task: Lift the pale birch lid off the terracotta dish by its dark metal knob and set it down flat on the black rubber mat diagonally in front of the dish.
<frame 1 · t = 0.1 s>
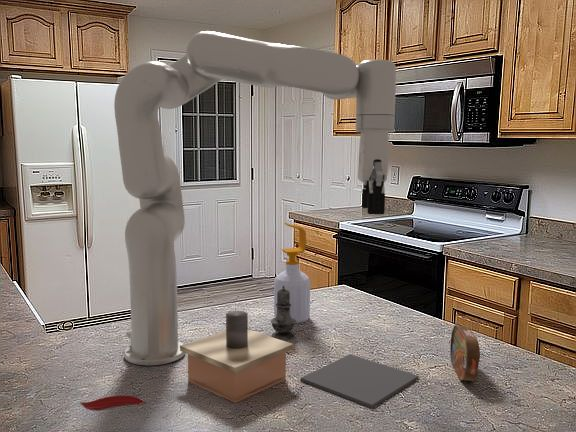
hand: (372, 210, 113), 31 cm above the worktop, tool pointing down, fingers open, 9 cm apart
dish: (237, 380, 106), on the worktop
mat: (359, 379, 106), on the worktop
cayenne pepper: (112, 407, 96), on the worktop
tin: (463, 373, 110), on the worktop
lid: (237, 349, 105), point 6 cm above the worktop, touching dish
salt shaker: (283, 336, 130), on the worktop
soap bottle: (291, 318, 143), on the worktop
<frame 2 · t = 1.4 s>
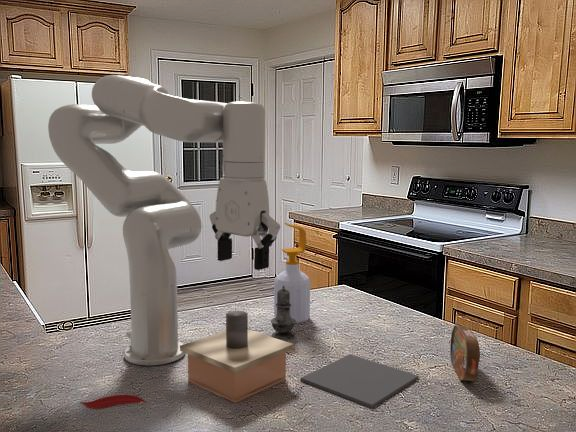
hand: (242, 264, 103), 22 cm above the worktop, tool pointing down, fingers open, 9 cm apart
nothing on the worktop moved.
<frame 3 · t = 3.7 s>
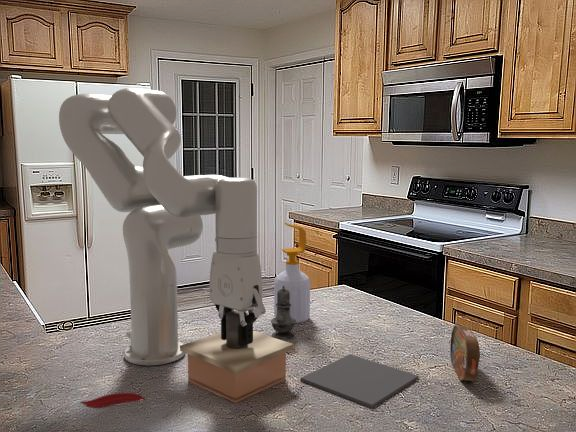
hand: (236, 340, 105), 8 cm above the worktop, tool pointing down, fingers closed on lid, 4 cm apart
lid: (237, 349, 105), point 6 cm above the worktop, touching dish, gripper
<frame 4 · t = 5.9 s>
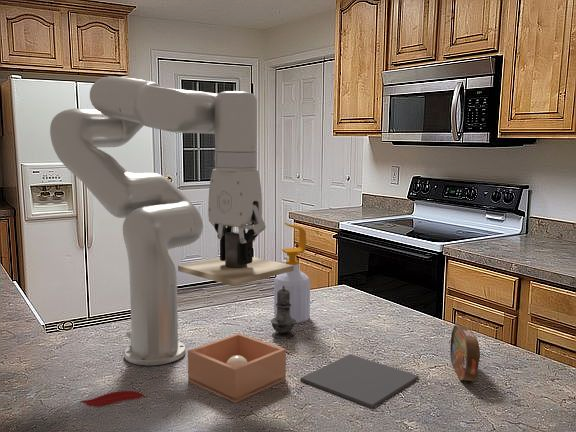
hand: (236, 260, 103), 23 cm above the worktop, tool pointing down, fingers closed on lid, 4 cm apart
lid: (236, 270, 103), point 21 cm above the worktop, touching gripper
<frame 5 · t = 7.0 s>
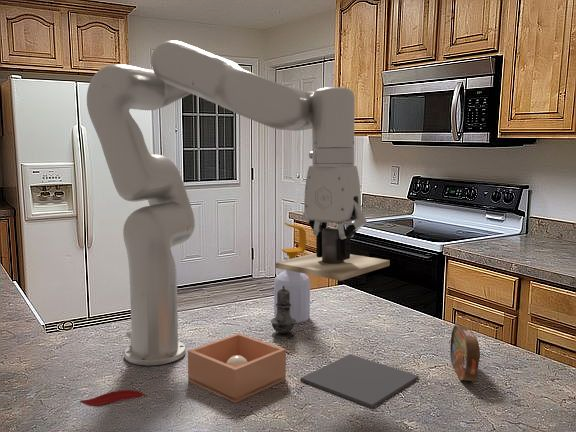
hand: (333, 256, 103), 24 cm above the worktop, tool pointing down, fingers closed on lid, 4 cm apart
lid: (332, 266, 103), point 22 cm above the worktop, touching gripper
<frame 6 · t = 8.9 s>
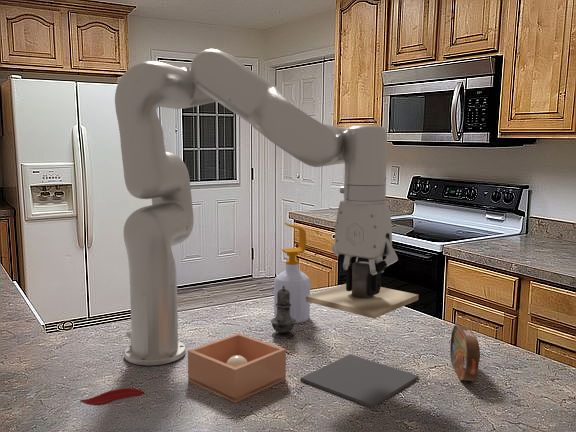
hand: (362, 291, 104), 17 cm above the worktop, tool pointing down, fingers closed on lid, 4 cm apart
lid: (362, 300, 104), point 16 cm above the worktop, touching gripper
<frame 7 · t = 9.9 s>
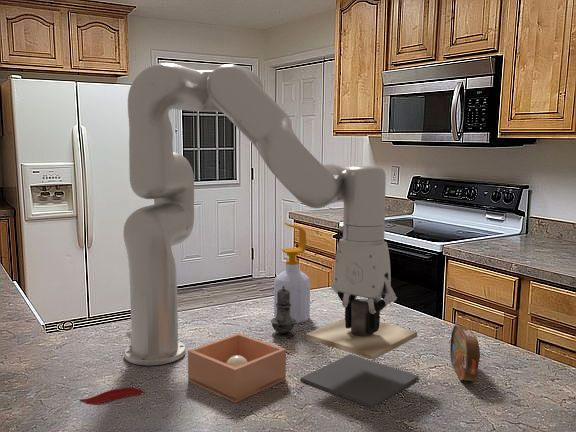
hand: (361, 328, 105), 10 cm above the worktop, tool pointing down, fingers closed on lid, 4 cm apart
lid: (361, 337, 105), point 8 cm above the worktop, touching gripper
when the fingers open (4 cm above the worktop, at t = 11.5 s): lid drops 2 cm, resting on mat.
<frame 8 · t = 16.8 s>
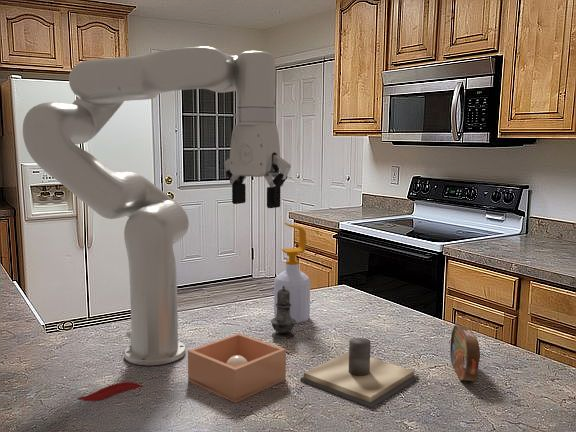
hand: (255, 205, 111), 32 cm above the worktop, tool pointing down, fingers open, 9 cm apart
cayenne pepper: (111, 396, 100), on the worktop
lid: (358, 376, 106), point 1 cm above the worktop, touching mat
everything else where it was.
at the end: lid inside the target area on the mat (0.1 cm from its centre), point 0.6 cm above the mat's base; lid tilted 0°; lid touching mat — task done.
